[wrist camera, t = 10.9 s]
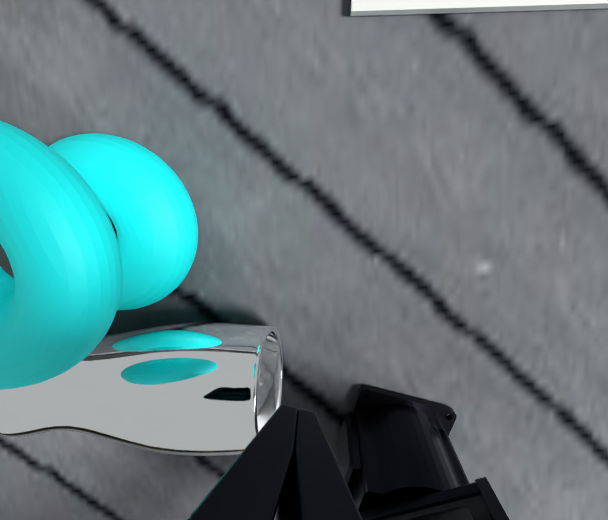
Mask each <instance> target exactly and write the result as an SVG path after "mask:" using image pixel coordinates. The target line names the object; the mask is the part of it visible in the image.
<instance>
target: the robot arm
mask: <svg viewBox="0 0 608 520" xmlns="http://www.w3.org/2000/svg"><path fill="white" fill-rule="evenodd" d="M364 393H368V394H369V395H363V394H364ZM447 414H449V415H448V416H445V415H447ZM455 420H456V414H455V412H454V410H453V409H452V408H451V407H448V406H444V405H440V404H436V403H432V402H428V401H424V400H421V399H417V398H413V397H409V396H405V395H401V394H397V393H393V392H389V391H385V390H381V389H377V388H374V387H370V386H362V387H361V388H360V389H359V390H358V393H357V396H356V399H355V402H354V405H353V408H352V411H351V412H348V413H347V414H346V415H345V418H344V421H343V424H342V427H341V430H340V432H339V435H338V438H337V442H336V445H337V461H336V458H335V456H334V454H333V452H332V449H331V447H330V445H329V442H328V440H327V438H326V435H325V433H324V431H323V429H322V426H321V424H320V422H319V419H318V417H317V415H316V413H315V412H314V411H311V410H307V409H303V408H300V409H299V410H298V409H297V407H295V406H291V405H287V404H281V405H280V406H279V407H278V409H277V410H276V411H275V412H274V414H273V415H272V416H271V417H270V418H269V420H268V421H267V422H266V423H265V425H264V426H263V427H262V428H261V430H260V431H259V432H258V433H257V434H256V436H255V437H254V438H253V439H252V441H251V442H250V443H249V444H248V445H247V447H246V448H245V449H244V450H243V452H242V453H241V454H240V455H239V457H238V458H237V459H236V460H235V461H234V463H233V464H232V465H231V466H230V468H229V469H228V470H227V471H226V472H225V474H224V475H223V476H222V477H221V479H220V480H219V481H218V482H217V484H216V485H215V486H214V487H213V488H212V490H211V491H210V492H209V493H208V495H207V496H206V497H205V498H204V500H203V501H202V502H201V503H200V504H199V506H198V507H197V508H196V509H195V511H194V512H193V513H192V514H191V516H190V518H189V519H187V520H274V518H275V514H276V520H509V518H508V516H507V515H506V513H505V511H504V509H503V507H502V506H501V504H500V502H499V500H498V498H497V497H496V495H495V493H494V491H493V489H492V488H491V486H490V484H489V482H488V480H487V478H486V477H484V478H480V479H476V480H475V482H474V483H470V484H469V481H468V479H467V477H466V475H465V472H464V470H463V468H462V466H461V463H460V461H459V459H458V457H457V455H456V452H455V450H454V448H453V446H452V443H451V441H450V439H449V437H448V435H449V433H450V431H451V429H452V426H453V424H454V422H455ZM276 511H277V513H276Z"/></svg>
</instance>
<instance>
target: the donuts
mask: <svg viewBox="0 0 608 520" xmlns="http://www.w3.org/2000/svg"><path fill="white" fill-rule="evenodd" d="M108 216H109V217H110V218H111V220H112V222H113V224H114V226H115V229H116V232H117V238H116V234H115V231H114V229H113V226H112V224H111V221H110V219H109V217H108ZM0 244H1V246H2V247H3V249H4V251H5V253H6V255H7V257H8V259H9V262H10V265H11V268H12V271H13V274H14V278H13V277H11V276H10V275H9V274H7V273H6V272H5V271H4V270H3V269H2V268H1V267H0V390H3V389H13V388H19V387H25V386H30V385H34V384H38V383H41V382H44V381H47V380H49V379H51V378H54V377H56V376H58V375H60V374H62V373H64V372H66V371H68V370H69V369H71V368H72V367H74V366H75V365H77V364H78V363H79V362H81V361H82V360H83V359H84V358H86V357H87V356H88V355H89V354H90V353H91V352H92V351H93V350H94V349H95V348H96V346H97V345H98V344H99V343H100V342H101V340H102V339H103V338H104V336H105V335H106V333H107V332H108V330H109V328H110V326H111V324H112V322H113V320H114V317H115V315H116V312H117V310H132V309H138V308H142V307H145V306H148V305H151V304H153V303H156V302H158V301H160V300H161V299H163V298H165V297H166V296H167V295H169V294H170V293H171V292H173V291H174V290H175V289H176V288H177V287H178V286H179V285H180V284H181V283H182V281H183V280H184V279H185V277H186V275H187V274H188V272H189V270H190V268H191V266H192V264H193V261H194V258H195V255H196V251H197V245H198V224H197V218H196V213H195V209H194V206H193V203H192V201H191V198H190V196H189V194H188V192H187V190H186V188H185V186H184V185H183V183H182V182H181V180H180V179H179V177H178V176H177V175H176V174H175V172H174V171H173V170H172V169H171V168H170V167H169V166H168V165H167V164H166V163H165V162H164V161H163V160H162V159H161V158H159V157H158V156H157V155H156V154H154V153H153V152H151V151H150V150H148V149H147V148H145V147H143V146H141V145H139V144H137V143H135V142H133V141H131V140H128V139H125V138H122V137H118V136H113V135H108V134H100V133H87V134H79V135H74V136H69V137H66V138H63V139H61V140H59V141H57V142H55V143H53V144H51V145H50V146H47V145H45V144H44V143H42V142H41V141H39V140H38V139H36V138H35V137H33V136H31V135H30V134H28V133H26V132H24V131H23V130H21V129H19V128H17V127H15V126H12V125H10V124H8V123H5V122H3V121H0Z"/></svg>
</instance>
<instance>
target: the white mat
mask: <svg viewBox="0 0 608 520" xmlns="http://www.w3.org/2000/svg"><path fill="white" fill-rule="evenodd" d="M607 8H608V0H351V16H374V15H408V14H441V13H474V12H507V11H540V10H574V9H607Z"/></svg>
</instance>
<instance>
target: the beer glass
mask: <svg viewBox="0 0 608 520" xmlns="http://www.w3.org/2000/svg"><path fill="white" fill-rule="evenodd" d="M282 393H283V355H282V346H281V340H280V336H279V333H278V331H277V329H276V328H275V327H274V326H258V325H248V324H236V323H217V322H196V323H179V324H171V325H163V326H157V327H151V328H146V329H140V330H135V331H130V332H125V333H119V334H113V335H107V336H104V338H103V339H102V340H101V342H100V343H99V344H98V345H97V346H96V348H95V349H94V350H93V351H92V352H91V353H90V354H89V355H88V356H87V357H86V358H84V359H83V360H82V361H81V362H79V363H78V364H77V365H75V366H74V367H72V368H71V369H69V370H68V371H66V372H64V373H62V374H60V375H58V376H56V377H54V378H51V379H49V380H47V381H44V382H41V383H38V384H34V385H30V386H25V387H19V388H13V389H3V390H0V434H1V435H4V436H9V437H21V436H29V435H35V434H41V433H46V432H54V431H73V432H80V433H84V434H88V435H92V436H96V437H100V438H103V439H107V440H110V441H113V442H117V443H121V444H124V445H128V446H131V447H135V448H139V449H144V450H149V451H153V452H158V453H165V454H175V455H186V456H223V455H240V454H241V453H242V452H243V450H244V449H245V448H246V447H247V445H248V444H249V443H250V442H251V441H252V439H253V438H254V437H255V436H256V434H257V433H258V432H259V431H260V430H261V428H262V427H263V426H264V425H265V423H266V422H267V421H268V420H269V418H270V417H271V416H272V415H273V414H274V412H275V411H276V410H277V409H278V407H279V406H280V405H281V404H282Z"/></svg>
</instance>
